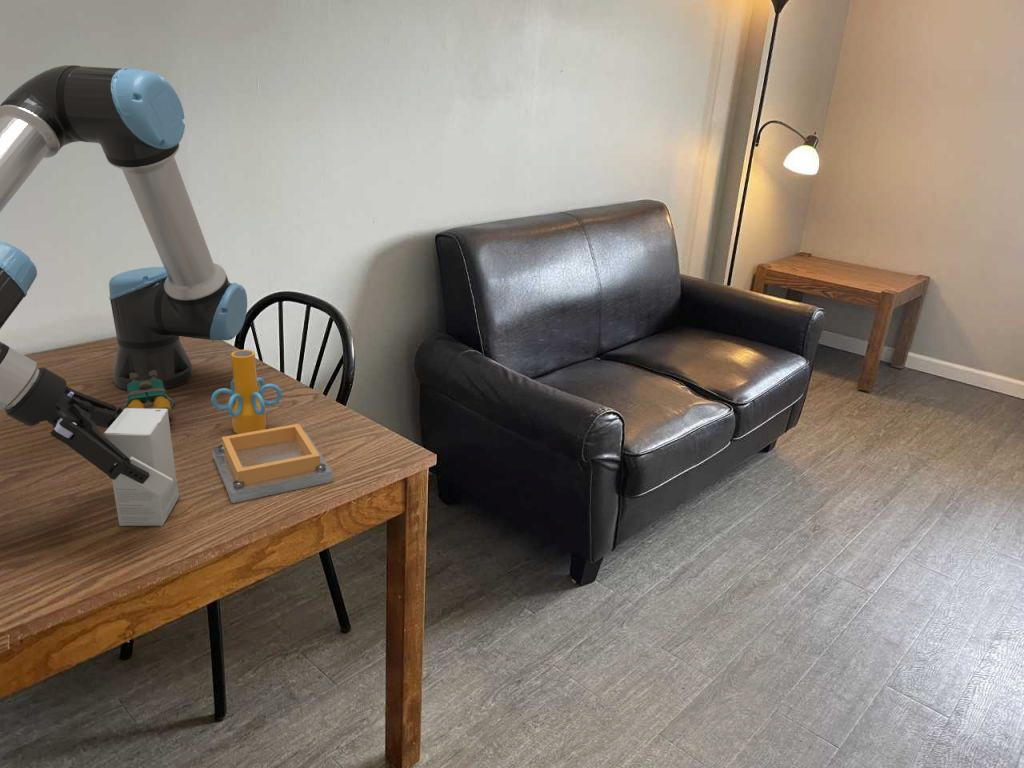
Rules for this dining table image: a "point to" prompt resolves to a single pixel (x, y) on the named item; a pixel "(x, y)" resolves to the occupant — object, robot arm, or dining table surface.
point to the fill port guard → (276, 467)
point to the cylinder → (246, 394)
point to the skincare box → (151, 445)
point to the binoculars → (148, 393)
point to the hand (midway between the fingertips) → (160, 465)
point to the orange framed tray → (272, 486)
